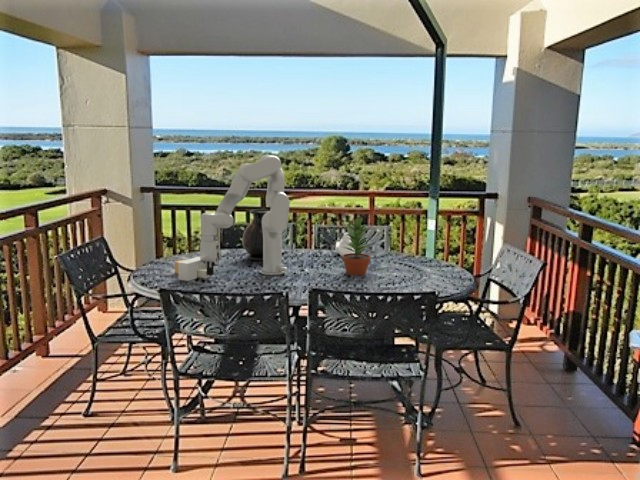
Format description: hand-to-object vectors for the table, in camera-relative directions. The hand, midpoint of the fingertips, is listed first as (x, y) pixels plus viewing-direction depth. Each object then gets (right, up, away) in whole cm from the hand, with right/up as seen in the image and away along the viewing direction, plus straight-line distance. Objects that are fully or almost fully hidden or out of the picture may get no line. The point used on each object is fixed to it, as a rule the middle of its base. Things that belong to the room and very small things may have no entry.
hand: (210, 274), depth 266 cm
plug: (-10, 0, +6) cm, 12 cm away
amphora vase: (+21, +6, +43) cm, 48 cm away
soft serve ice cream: (+69, +8, +58) cm, 91 cm away
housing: (-7, -1, +4) cm, 9 cm away
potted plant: (+73, 0, +14) cm, 74 cm away
